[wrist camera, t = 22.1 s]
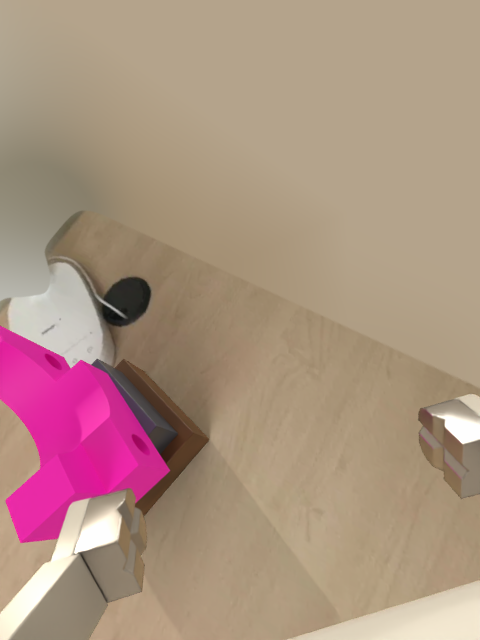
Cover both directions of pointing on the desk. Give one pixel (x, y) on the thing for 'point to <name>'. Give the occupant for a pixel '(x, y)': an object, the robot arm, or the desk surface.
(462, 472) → the robot arm
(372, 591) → the desk surface
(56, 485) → the toy block
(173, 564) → the desk surface
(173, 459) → the block stack
